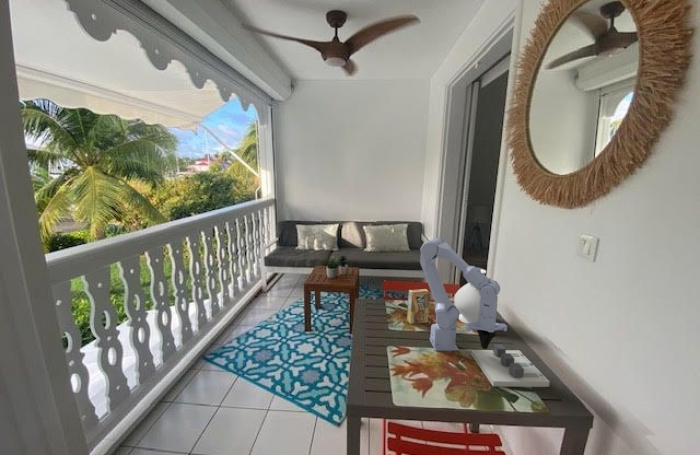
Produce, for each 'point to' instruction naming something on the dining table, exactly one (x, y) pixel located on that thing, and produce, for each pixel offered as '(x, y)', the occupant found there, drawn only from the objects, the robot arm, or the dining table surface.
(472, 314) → the decorative vase
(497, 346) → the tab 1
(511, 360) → the dark gray cube
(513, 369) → the gray cube
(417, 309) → the candy box
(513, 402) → the dining table surface
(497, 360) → the switch panel
